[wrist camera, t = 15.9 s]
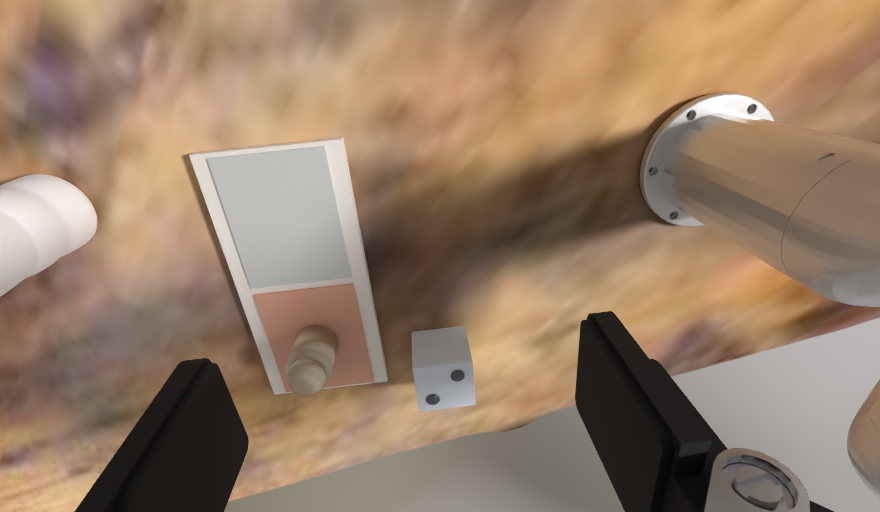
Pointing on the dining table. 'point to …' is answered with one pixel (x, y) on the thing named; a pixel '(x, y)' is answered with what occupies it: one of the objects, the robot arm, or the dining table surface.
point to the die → (442, 368)
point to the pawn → (311, 360)
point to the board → (295, 252)
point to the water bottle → (40, 225)
